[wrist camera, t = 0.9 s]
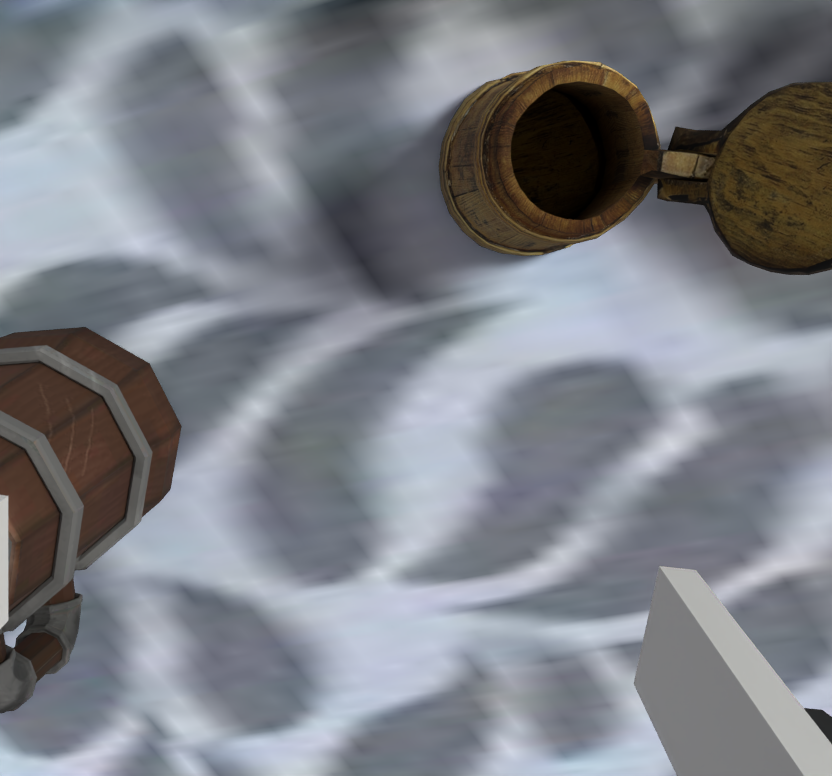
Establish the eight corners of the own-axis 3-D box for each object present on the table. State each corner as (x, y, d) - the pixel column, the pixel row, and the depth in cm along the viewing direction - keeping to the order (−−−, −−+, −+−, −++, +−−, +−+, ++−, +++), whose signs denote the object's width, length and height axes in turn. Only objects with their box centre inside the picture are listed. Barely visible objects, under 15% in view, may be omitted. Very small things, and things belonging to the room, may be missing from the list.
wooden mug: (680, 283, 41) (890, 349, 23) (425, 240, 40) (443, 273, 22) (724, 106, 38) (992, 29, 21) (456, 56, 38) (502, -66, 20)
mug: (-63, 338, 41) (-324, 417, 26) (166, 320, 41) (33, 388, 26) (-1, 607, 44) (-199, 808, 30) (208, 590, 44) (113, 783, 30)
